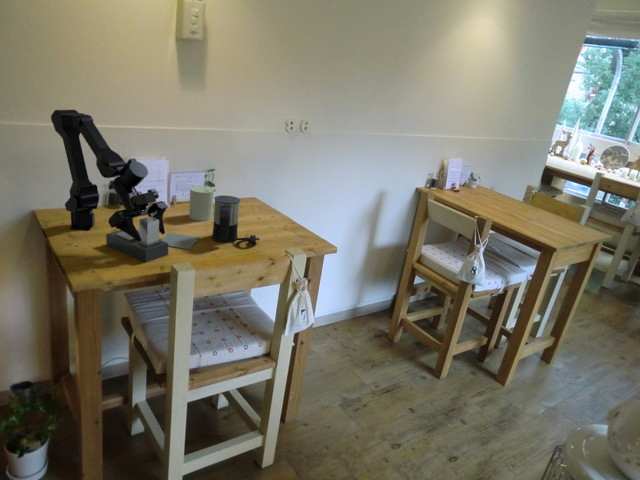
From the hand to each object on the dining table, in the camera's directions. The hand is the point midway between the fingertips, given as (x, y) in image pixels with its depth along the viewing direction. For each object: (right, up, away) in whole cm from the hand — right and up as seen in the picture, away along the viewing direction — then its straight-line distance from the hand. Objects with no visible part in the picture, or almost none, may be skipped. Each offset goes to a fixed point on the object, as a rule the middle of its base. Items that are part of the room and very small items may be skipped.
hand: (152, 237), depth 151 cm
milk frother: (+21, -1, +25) cm, 33 cm away
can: (+5, +8, +42) cm, 43 cm away
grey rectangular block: (-2, -4, +2) cm, 5 cm away
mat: (+3, -1, +16) cm, 17 cm away
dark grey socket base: (-7, -4, +5) cm, 10 cm away
